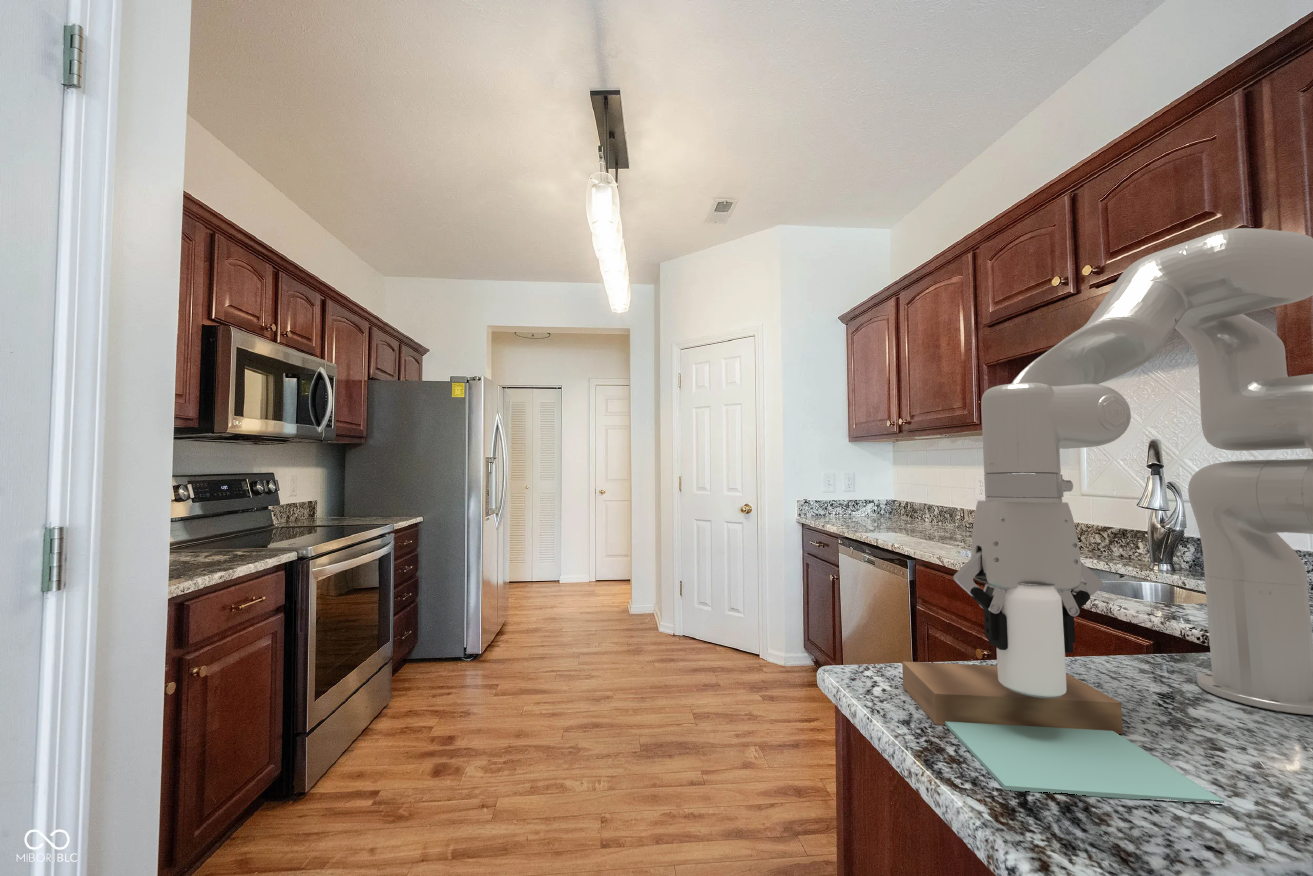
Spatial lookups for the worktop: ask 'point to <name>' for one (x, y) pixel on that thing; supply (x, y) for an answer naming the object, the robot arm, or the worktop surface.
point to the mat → (1074, 763)
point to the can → (1033, 642)
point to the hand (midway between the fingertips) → (1029, 646)
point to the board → (1004, 699)
